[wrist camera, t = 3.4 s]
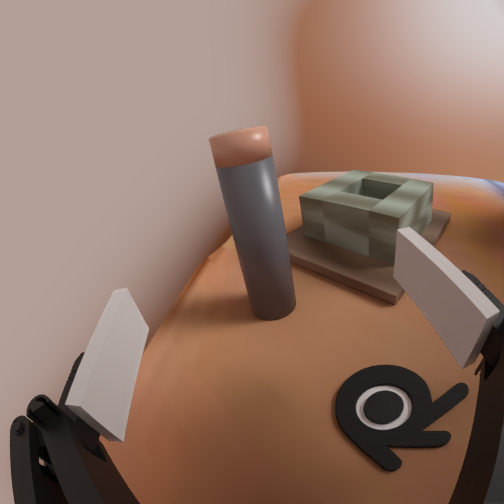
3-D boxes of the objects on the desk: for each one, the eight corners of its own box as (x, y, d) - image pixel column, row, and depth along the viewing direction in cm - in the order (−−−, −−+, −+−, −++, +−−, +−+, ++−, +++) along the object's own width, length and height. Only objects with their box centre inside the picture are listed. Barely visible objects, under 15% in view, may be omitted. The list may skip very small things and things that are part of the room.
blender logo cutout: (463, 372, 14) (467, 366, 13) (461, 471, 8) (466, 467, 7) (345, 366, 18) (346, 360, 17) (315, 464, 12) (315, 461, 12)
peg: (274, 285, 27) (243, 128, 20) (305, 301, 24) (279, 124, 17) (243, 307, 25) (198, 140, 18) (272, 327, 22) (230, 136, 15)
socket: (358, 198, 42) (355, 162, 39) (450, 220, 31) (453, 178, 28) (270, 253, 33) (260, 205, 30) (394, 305, 21) (402, 243, 18)
